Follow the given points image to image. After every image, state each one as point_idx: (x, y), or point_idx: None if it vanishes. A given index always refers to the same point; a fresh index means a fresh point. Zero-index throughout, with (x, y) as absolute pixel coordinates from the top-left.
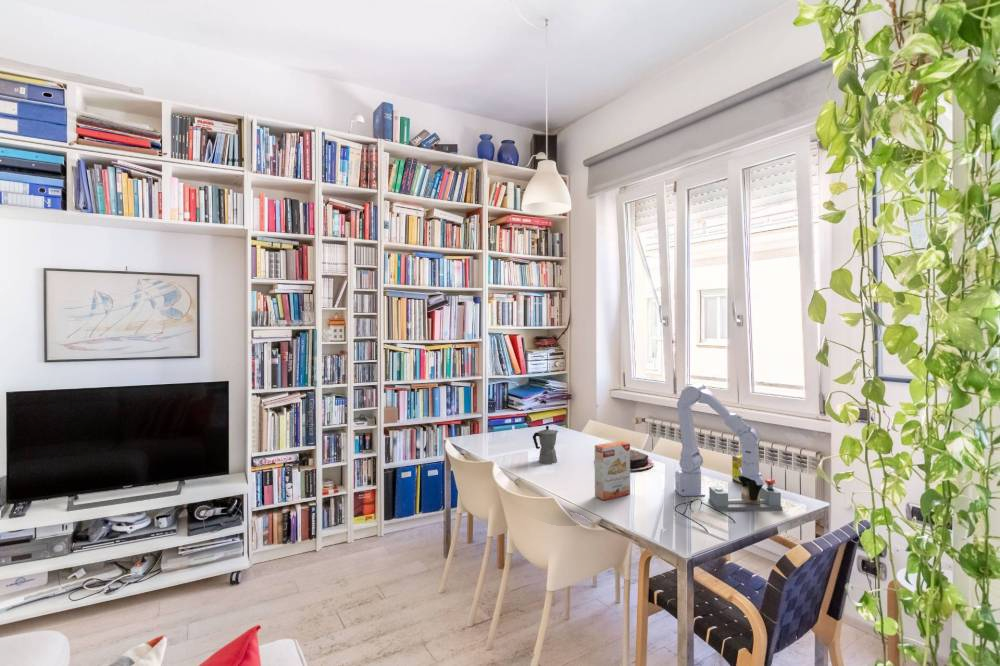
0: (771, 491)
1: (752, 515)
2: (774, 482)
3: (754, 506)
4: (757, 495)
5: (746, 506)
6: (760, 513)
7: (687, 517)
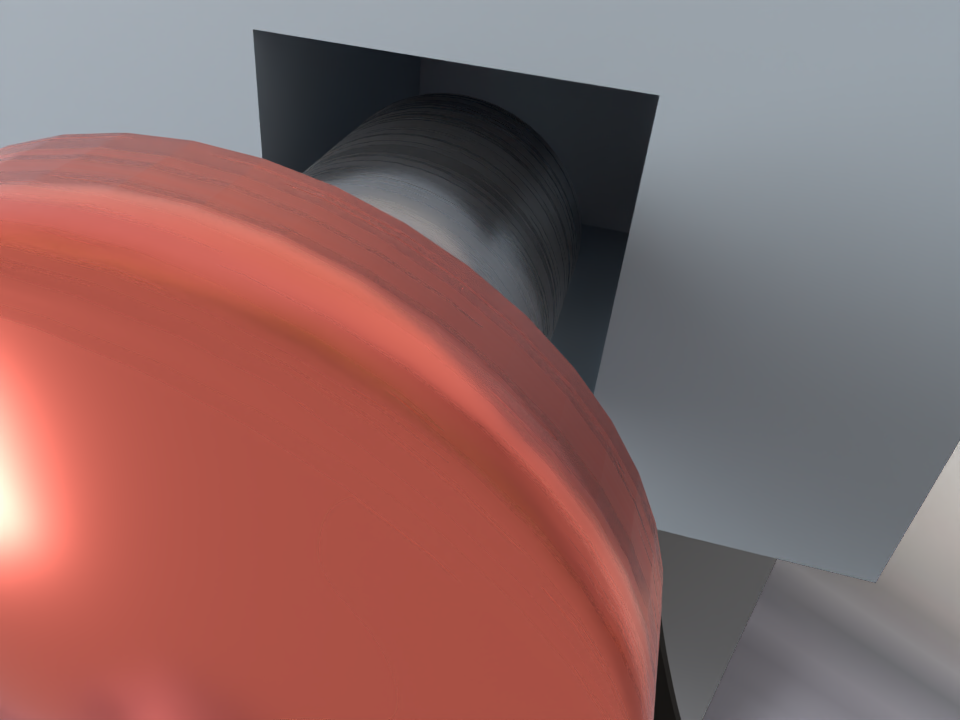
0: (745, 396)
1: (946, 711)
2: (581, 515)
3: (724, 586)
4: (671, 717)
5: (681, 687)
6: (935, 562)
7: None
